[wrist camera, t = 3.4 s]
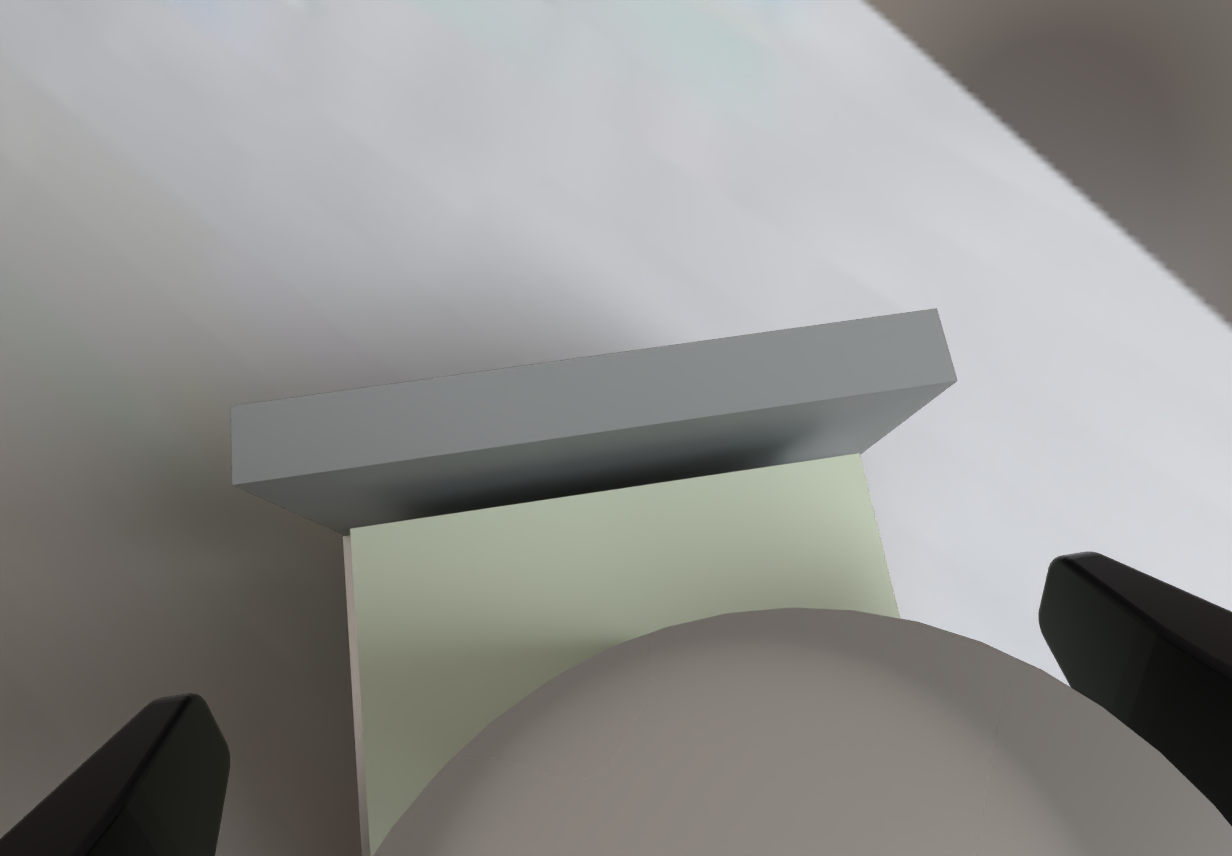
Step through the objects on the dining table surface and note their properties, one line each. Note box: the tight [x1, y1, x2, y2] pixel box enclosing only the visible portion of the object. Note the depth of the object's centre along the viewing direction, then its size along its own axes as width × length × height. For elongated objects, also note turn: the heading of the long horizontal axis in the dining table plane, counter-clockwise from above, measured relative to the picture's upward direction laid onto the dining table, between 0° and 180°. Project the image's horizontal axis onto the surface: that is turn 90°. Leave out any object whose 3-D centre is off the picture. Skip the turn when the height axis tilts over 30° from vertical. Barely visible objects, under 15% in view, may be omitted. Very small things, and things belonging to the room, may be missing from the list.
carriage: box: [350, 453, 1232, 856], centre depth 7 cm, size 7×7×10 cm
